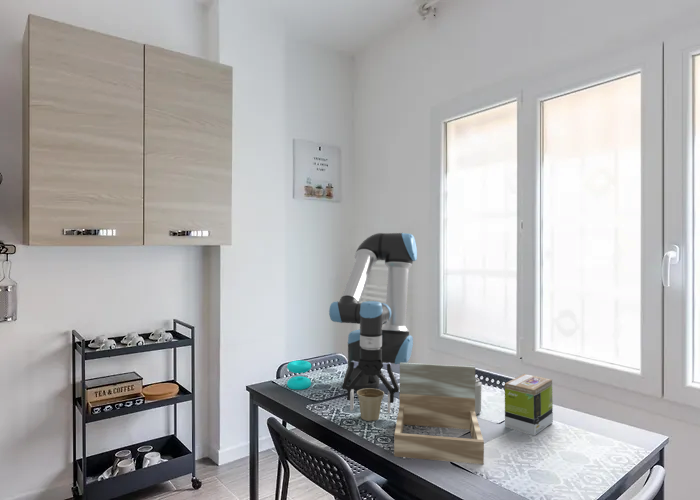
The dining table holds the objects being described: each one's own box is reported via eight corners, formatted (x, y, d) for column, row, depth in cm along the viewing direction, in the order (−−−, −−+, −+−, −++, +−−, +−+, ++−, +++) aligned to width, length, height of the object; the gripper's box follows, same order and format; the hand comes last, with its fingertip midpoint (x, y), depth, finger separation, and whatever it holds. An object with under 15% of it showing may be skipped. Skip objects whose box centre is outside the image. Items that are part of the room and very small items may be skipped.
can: (477, 417, 151) (478, 382, 151) (456, 413, 155) (456, 379, 155) (483, 411, 157) (484, 377, 157) (462, 406, 161) (463, 374, 161)
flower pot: (384, 413, 154) (384, 388, 154) (383, 424, 145) (384, 397, 145) (357, 412, 155) (357, 387, 155) (355, 422, 146) (355, 396, 146)
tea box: (523, 415, 154) (524, 372, 154) (553, 423, 147) (554, 379, 147) (503, 427, 143) (504, 381, 143) (534, 437, 136) (535, 389, 136)
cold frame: (399, 422, 146) (400, 362, 146) (474, 428, 142) (474, 366, 142) (394, 456, 123) (394, 384, 122) (483, 464, 119) (484, 390, 118)
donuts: (308, 366, 176) (284, 365, 178) (308, 391, 177) (283, 390, 178) (313, 360, 186) (290, 359, 188) (313, 383, 186) (290, 382, 188)
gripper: (333, 348, 148) (333, 412, 148) (406, 351, 144) (405, 417, 144) (338, 343, 155) (337, 404, 156) (407, 346, 151) (406, 409, 152)
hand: (370, 410), depth 150 cm, fingers open, 12 cm apart
